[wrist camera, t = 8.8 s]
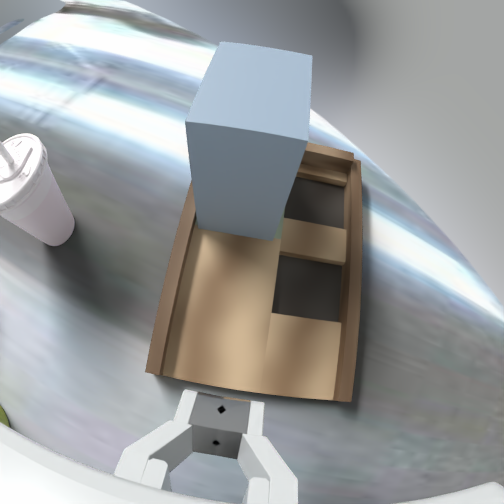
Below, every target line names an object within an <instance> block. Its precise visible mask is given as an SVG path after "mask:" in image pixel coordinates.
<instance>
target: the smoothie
mask: <svg viewBox="0 0 504 504" xmlns="http://www.w3.org/2000/svg"><path fill="white" fill-rule="evenodd" d="M47 158H48V157H47V151H46V148H45V147H44V145H43V144H42V143H41V141H40V140H39V138H38V137H36V136H35V135H32V134H19V135H16V136H13V137H11V138H9V139H7V140H5V141H4V142H3V143H2V142H1V141H0V215H1V216H2V217H3V218H5V219H7V220H8V221H10V222H12V223H13V224H15V225H16V226H18V227H20V228H21V229H23V230H24V231H26V232H28V233H29V234H31V235H33V236H34V237H36V238H38V239H39V240H41V241H43V242H44V243H46V244H48V245H50V246H58V245H61V244H63V243H64V242H65V241H67V240H68V239H69V237H70V236H71V234H72V232H73V230H74V225H75V221H74V217H73V215H72V213H71V211H70V209H69V207H68V205H67V203H66V201H65V199H64V197H63V195H62V193H61V191H60V189H59V187H58V185H57V183H56V180H55V178H54V176H53V174H52V172H51V169H50V167H49V165H48V163H47Z"/></svg>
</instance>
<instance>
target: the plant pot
mask: <svg viewBox="0 0 504 504" xmlns="http://www.w3.org/2000/svg"><path fill="white" fill-rule="evenodd" d="M0 422H1V423H2V424H4V425H6V426H7V427H9V428H10V426H9V422H8V419H7V417H6V414H5V412H4V410H3V409H2V407H1V406H0Z"/></svg>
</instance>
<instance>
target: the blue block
mask: <svg viewBox="0 0 504 504" xmlns="http://www.w3.org/2000/svg"><path fill="white" fill-rule="evenodd" d="M311 74H312V56H310V55H305V54H300V53H296V52H291V51H285V50H280V49H274V48H268V47H261V46H255V45H247V44H239V43H231V42H220V43H219V45H218V48H217V50H216V52H215V54H214V56H213V58H212V60H211V62H210V65H209V67H208V69H207V71H206V73H205V76H204V78H203V80H202V82H201V85H200V87H199V89H198V92H197V94H196V96H195V99H194V101H193V103H192V106H191V108H190V111H189V113H188V115H187V118H186V120H185V125H186V134H187V143H188V152H189V161H190V169H191V178H192V186H193V193H194V201H195V208H196V216H197V223H198V228H199V229H205V230H211V231H217V232H223V233H228V234H234V235H240V236H246V237H252V238H257V239H263V240H269V241H273V239H274V236H275V233H276V230H277V228H278V225H279V222H280V219H281V217H282V214H283V211H284V208H285V205H286V203H287V200H288V197H289V194H290V191H291V189H292V186H293V183H294V180H295V177H296V174H297V172H298V169H299V166H300V163H301V160H302V157H303V155H304V152H305V149H306V146H307V143H308V137H309V119H310V99H311V98H310V97H311V76H312V75H311Z"/></svg>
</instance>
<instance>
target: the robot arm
mask: <svg viewBox="0 0 504 504" xmlns="http://www.w3.org/2000/svg"><path fill="white" fill-rule="evenodd" d="M264 408H265V404H264V402H257V401H250V400H243V399H236V398H229V397H221V396H216V395H211V394H206V393H202V392H196V391H192V390H187V389H185V390H184V391H183V394H182V396H181V399H180V402H179V405H178V408H177V411H176V414H175V417H174V420H173V421H172V420H169V421H167V422H166V423H164V424H163V425H161V426H160V427H158V428H157V429H155V430H154V431H152V432H151V433H149V434H147V435H146V436H144V437H143V438H141V439H140V440H138V441H136V442H135V443H133V444H132V445H130V446H128V447H127V448H125V449H124V451H123V454H122V456H121V458H120V461H119V463H118V465H117V468H116V470H115V473H114V475H112V474H109V473H106V472H103V471H101V470H98V469H95V468H93V467H90V466H88V465H85V464H83V463H80V462H78V461H75V460H73V459H71V458H68V457H66V456H64V455H62V454H59V453H57V452H55V451H53V450H51V449H49V448H47V447H45V446H43V445H41V444H39V443H37V442H35V441H33V440H31V439H29V438H27V437H25V436H23V435H21V434H20V433H18V432H16V431H14V430H13V429H11V428H9V427H7V426H6V425H4V424H2V423H1V422H0V504H235V503H227V502H221V501H215V500H209V499H203V498H198V497H193V496H188V495H183V494H179V493H174V492H172V489H171V483H170V476H169V473H170V472H171V471H172V470H173V469H174V468H176V467H177V466H178V465H179V464H180V463H181V462H182V461H184V460H185V459H186V458H187V457H188V456H189V455H190V454H192V451H193V452H198V453H204V454H211V455H217V456H222V457H228V458H233V459H237V461H238V463H239V465H240V467H241V469H242V470H243V472H244V474H245V476H246V478H247V480H248V482H249V484H248V487H247V490H246V493H245V496H244V499H243V502H242V504H298V480H297V478H296V477H295V476H294V474H293V473H292V472H291V470H290V469H289V467H288V466H287V465H286V463H285V462H284V461H283V459H282V458H281V456H280V455H279V454H278V452H277V451H276V449H275V448H274V447H273V445H272V444H271V442H270V441H269V440H268V438H267V437H265V436H263V423H264ZM395 504H504V487H503V486H501V485H500V484H498V483H496V482H489V483H485V484H482V485H478V486H475V487H472V488H468V489H464V490H461V491H457V492H453V493H449V494H444V495H440V496H435V497H430V498H425V499H420V500H414V501H408V502H402V503H395Z"/></svg>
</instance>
